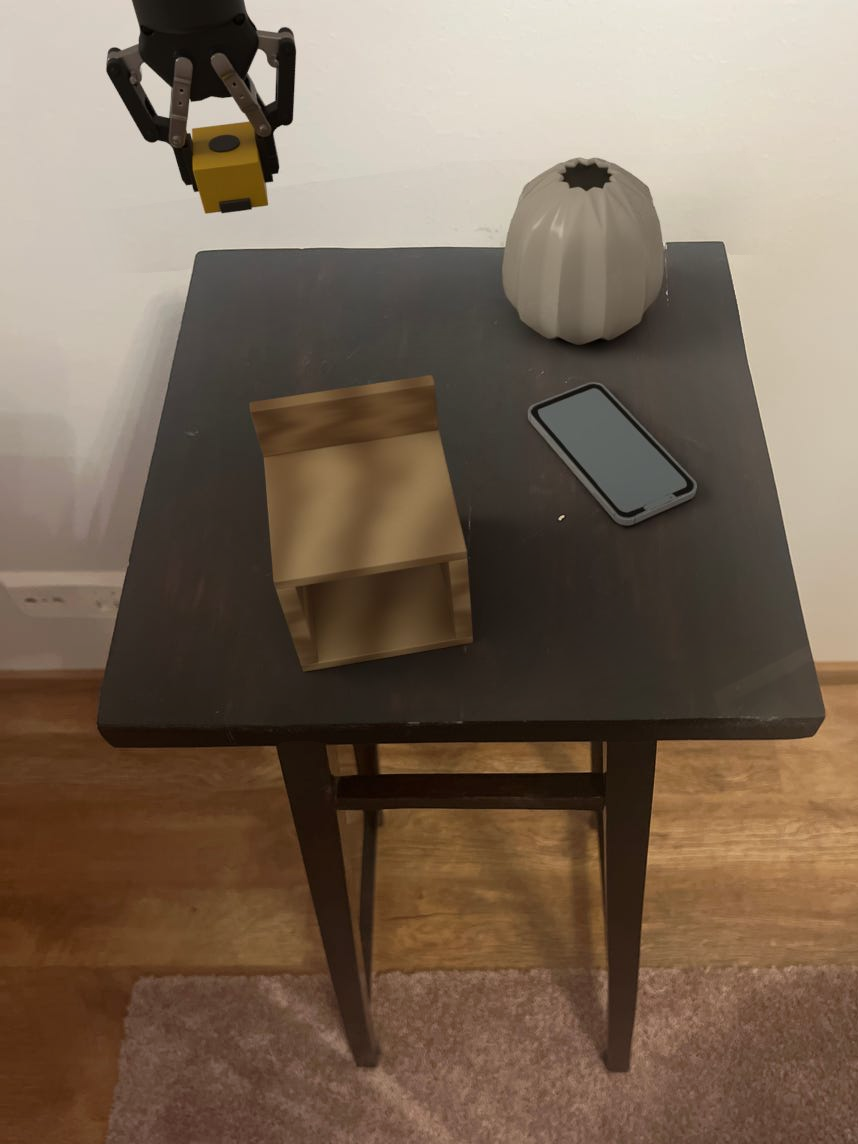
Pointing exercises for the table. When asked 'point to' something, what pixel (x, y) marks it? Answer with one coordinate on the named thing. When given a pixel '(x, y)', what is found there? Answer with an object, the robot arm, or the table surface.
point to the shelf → (363, 523)
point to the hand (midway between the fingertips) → (233, 181)
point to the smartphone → (612, 453)
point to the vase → (583, 252)
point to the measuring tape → (228, 168)
